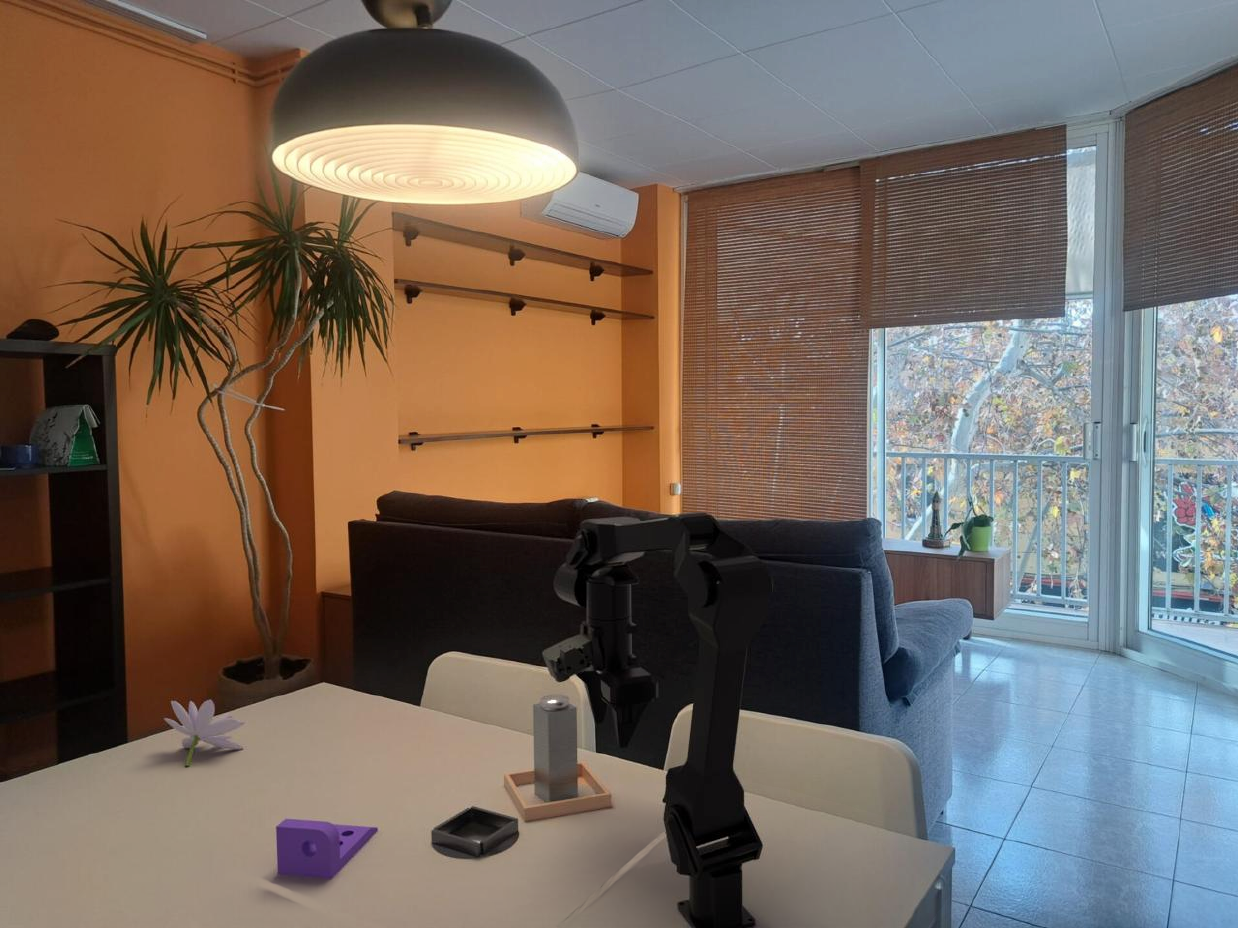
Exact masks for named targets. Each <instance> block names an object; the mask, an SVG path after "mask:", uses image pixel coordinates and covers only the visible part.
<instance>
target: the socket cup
mask: <svg viewBox="0 0 1238 928" xmlns="http://www.w3.org/2000/svg"><path fill="white" fill-rule="evenodd" d="M519 831H520V830H519V818H516V817H514V816H511V815H508V814H507V815H506V814H503V813H499V812H496V811H492V810H489V809H485V808H481V807H477V806H474V805H473V806H471V807H467V808H464V809H463V810H462V811H460V812H458V813H456V814H455V815H454V816H451V817H449V818H448V819H446V820H445V821H443V822H441V823H439V824H438V825H437V826H435V827H433V829H431V834H430V835H431V837H430V838H431V842H430V843H431V846H432V848H433V849H434V851H436V852H437V853H438V854H440V855H442V856H445V857H448V858H454V859H458V860H474V859H475V860H476V859H483V858H487V857H493V856H496V855H499V854H501V853H503V852H505V851H507V850H508V849H510V848H512V847H513V846H514V845H515V844H516V843H517V841H518V839H519V837H520V832H519Z"/></svg>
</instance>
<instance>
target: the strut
mask: <svg viewBox="0 0 1238 928" xmlns="http://www.w3.org/2000/svg"><path fill="white" fill-rule="evenodd" d="M539 701H540V703H535V704H532V713H533V714H532V716H533V718H532V721H533V722H532V723H533V726H532V727H533V769H534V786H533V787H534V795H536V796H537V797H538V798H539V799H541V800H542V801H544V803H549V802H555V801H561V800H567V799H572V798H578V797H579V784H578V766H577V762H578V715H577V714H578V713H577V712H578V711H577V710H578V709H577V708H578V707H577V706H575V705H573V704H571V703H570V698H569V697H568V696H567V695H564V694H558V693H557V694H547V695H544V696H541V698H540V699H539Z"/></svg>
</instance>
